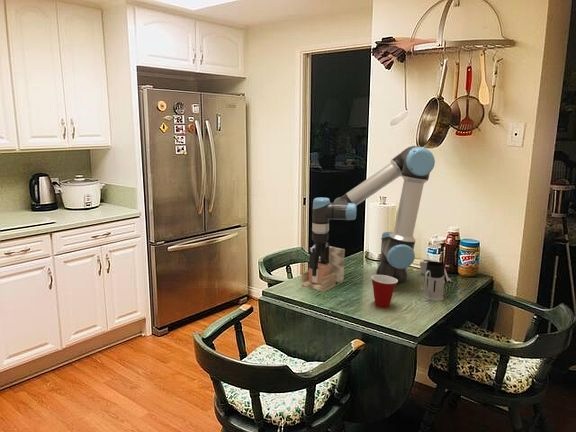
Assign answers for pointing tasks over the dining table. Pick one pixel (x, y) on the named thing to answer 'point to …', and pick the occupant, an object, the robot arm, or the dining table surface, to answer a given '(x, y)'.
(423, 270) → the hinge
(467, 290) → the dining table surface
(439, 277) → the glass holder
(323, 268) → the rail end
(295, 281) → the dining table surface
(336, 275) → the wooden block stack
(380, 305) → the plastic cup
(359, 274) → the dining table surface
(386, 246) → the robot arm
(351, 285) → the dining table surface
